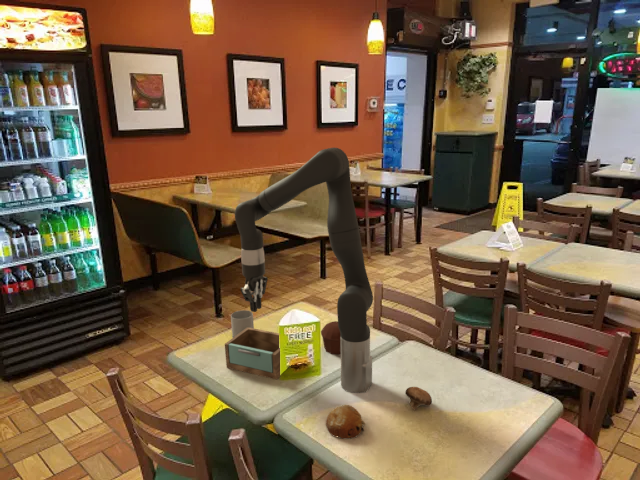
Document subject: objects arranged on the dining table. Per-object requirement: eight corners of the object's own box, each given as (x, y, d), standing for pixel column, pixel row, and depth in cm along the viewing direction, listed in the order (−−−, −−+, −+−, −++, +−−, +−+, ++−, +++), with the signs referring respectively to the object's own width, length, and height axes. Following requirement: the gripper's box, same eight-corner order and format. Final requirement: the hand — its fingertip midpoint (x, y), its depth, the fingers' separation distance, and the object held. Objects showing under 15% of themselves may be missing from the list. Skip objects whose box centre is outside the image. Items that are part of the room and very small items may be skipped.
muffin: (315, 345, 178) (315, 321, 175) (341, 338, 183) (340, 314, 180) (331, 359, 168) (330, 333, 165) (357, 351, 173) (357, 326, 170)
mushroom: (407, 407, 134) (415, 385, 136) (396, 401, 142) (404, 381, 143) (431, 417, 136) (439, 396, 137) (419, 411, 143) (426, 391, 145)
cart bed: (296, 359, 168) (295, 336, 166) (276, 379, 156) (275, 354, 153) (248, 349, 176) (247, 327, 174) (226, 367, 164) (224, 343, 162)
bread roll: (347, 425, 138) (337, 399, 138) (374, 425, 131) (363, 397, 131) (325, 443, 130) (315, 416, 131) (353, 444, 124) (342, 415, 124)
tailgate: (274, 370, 157) (273, 352, 155) (270, 374, 155) (269, 355, 153) (232, 361, 164) (230, 343, 162) (228, 364, 162) (226, 346, 160)
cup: (252, 343, 181) (250, 319, 178) (230, 343, 181) (229, 319, 179) (255, 333, 189) (254, 310, 186) (235, 333, 189) (233, 310, 187)
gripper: (251, 268, 147) (254, 319, 152) (273, 256, 159) (276, 303, 164) (231, 265, 150) (235, 316, 155) (254, 253, 162) (257, 300, 167)
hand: (256, 309), depth 159 cm, fingers closed
